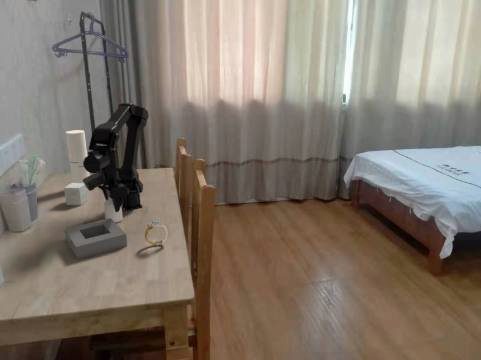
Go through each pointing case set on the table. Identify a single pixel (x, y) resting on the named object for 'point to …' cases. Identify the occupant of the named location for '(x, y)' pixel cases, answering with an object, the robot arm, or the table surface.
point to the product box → (75, 194)
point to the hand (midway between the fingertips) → (112, 207)
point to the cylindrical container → (77, 155)
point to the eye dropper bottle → (112, 211)
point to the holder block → (95, 238)
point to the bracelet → (152, 228)
